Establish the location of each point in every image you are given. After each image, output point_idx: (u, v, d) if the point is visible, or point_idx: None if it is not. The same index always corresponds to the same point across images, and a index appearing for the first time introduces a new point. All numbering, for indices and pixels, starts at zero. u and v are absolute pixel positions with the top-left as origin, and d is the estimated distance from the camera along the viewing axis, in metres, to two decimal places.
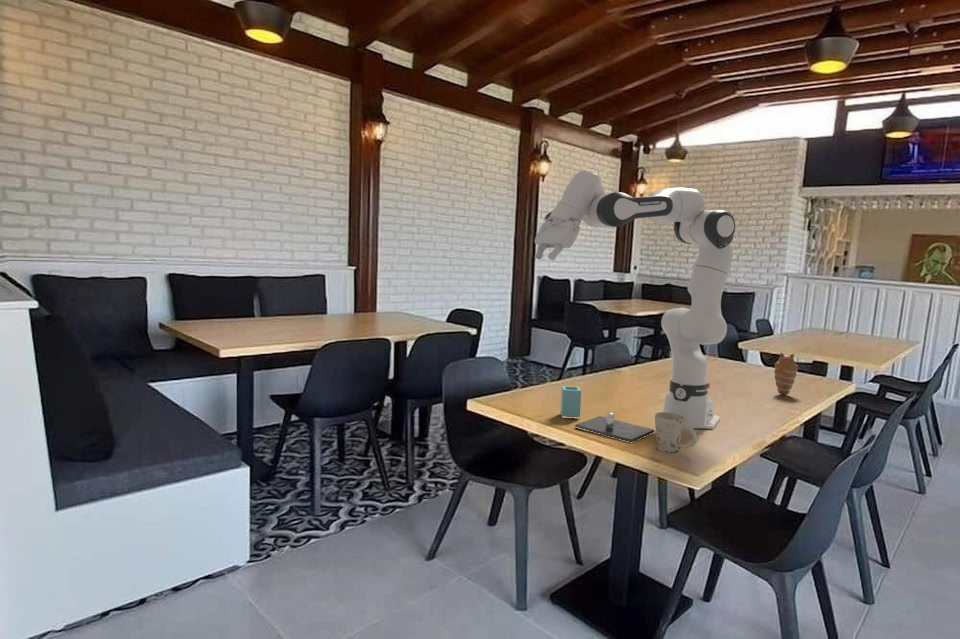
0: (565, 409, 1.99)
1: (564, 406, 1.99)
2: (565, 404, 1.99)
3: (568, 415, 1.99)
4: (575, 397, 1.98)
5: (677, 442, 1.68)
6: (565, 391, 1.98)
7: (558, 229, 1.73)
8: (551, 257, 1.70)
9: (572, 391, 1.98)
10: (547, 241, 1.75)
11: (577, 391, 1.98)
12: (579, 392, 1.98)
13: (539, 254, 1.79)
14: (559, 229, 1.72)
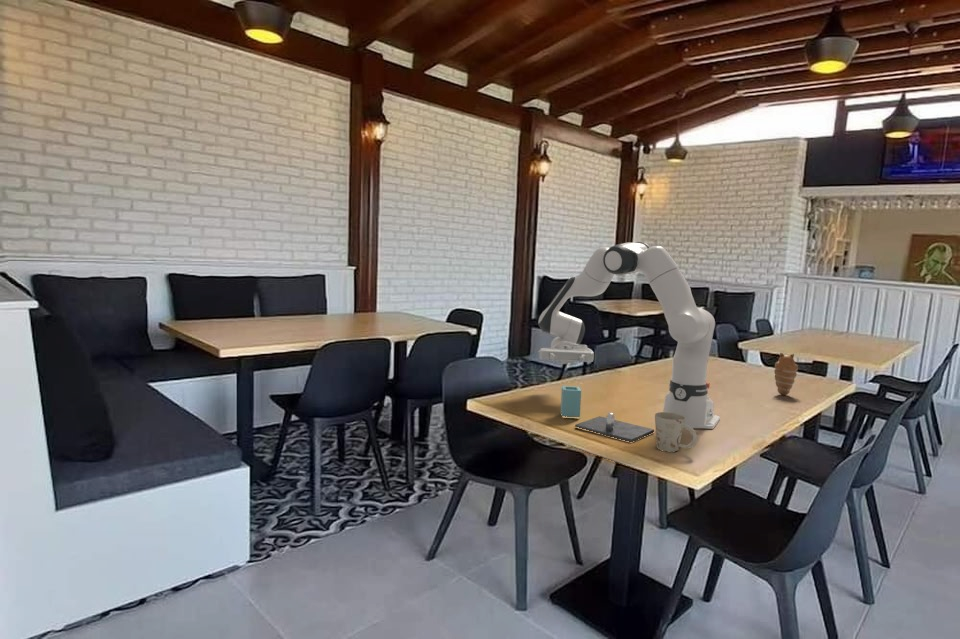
0: (565, 409, 1.99)
1: (564, 406, 1.99)
2: (565, 404, 1.99)
3: (568, 415, 1.99)
4: (575, 397, 1.98)
5: (677, 442, 1.68)
6: (565, 391, 1.98)
7: None
8: (553, 358, 2.13)
9: (572, 391, 1.98)
10: (566, 360, 2.17)
11: (577, 391, 1.98)
12: (579, 392, 1.98)
13: (579, 359, 2.13)
14: None
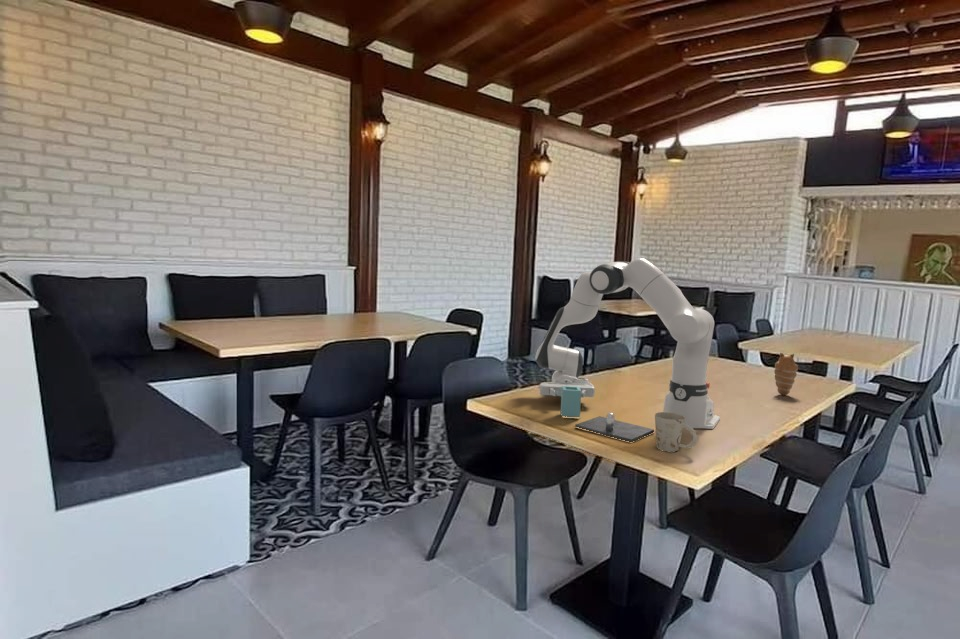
0: (565, 409, 1.99)
1: (564, 406, 1.99)
2: (565, 404, 1.99)
3: (568, 415, 1.99)
4: (575, 397, 1.98)
5: (677, 442, 1.68)
6: (565, 391, 1.98)
7: None
8: (553, 394, 2.10)
9: (572, 391, 1.98)
10: None
11: (577, 391, 1.98)
12: (579, 392, 1.98)
13: None
14: None
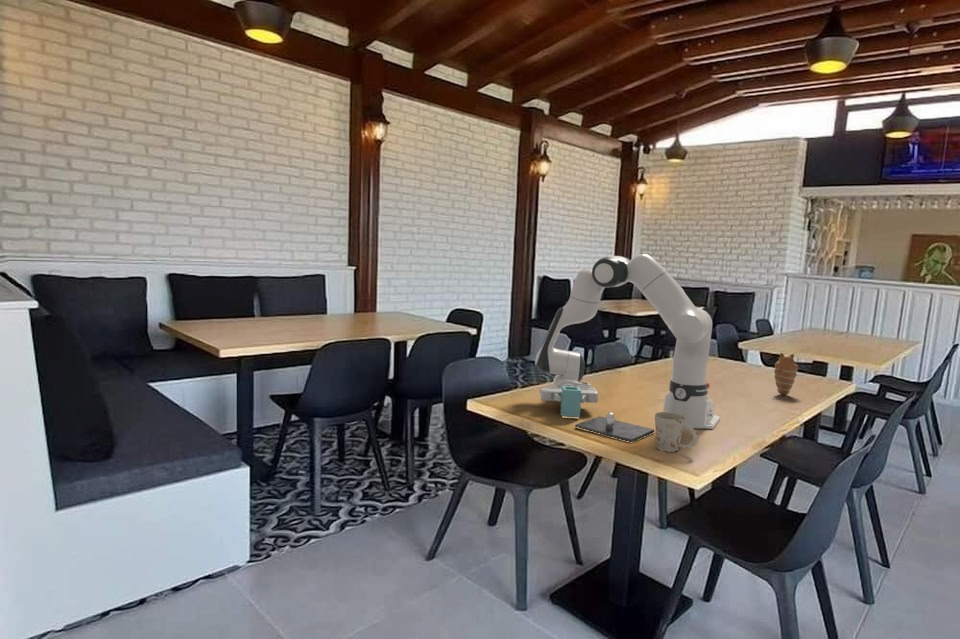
0: (565, 409, 1.99)
1: (564, 406, 1.99)
2: (565, 404, 1.99)
3: (568, 415, 1.99)
4: (575, 397, 1.98)
5: (677, 442, 1.68)
6: (565, 391, 1.98)
7: None
8: (558, 400, 2.01)
9: (572, 391, 1.98)
10: None
11: (577, 391, 1.98)
12: (579, 392, 1.98)
13: None
14: None
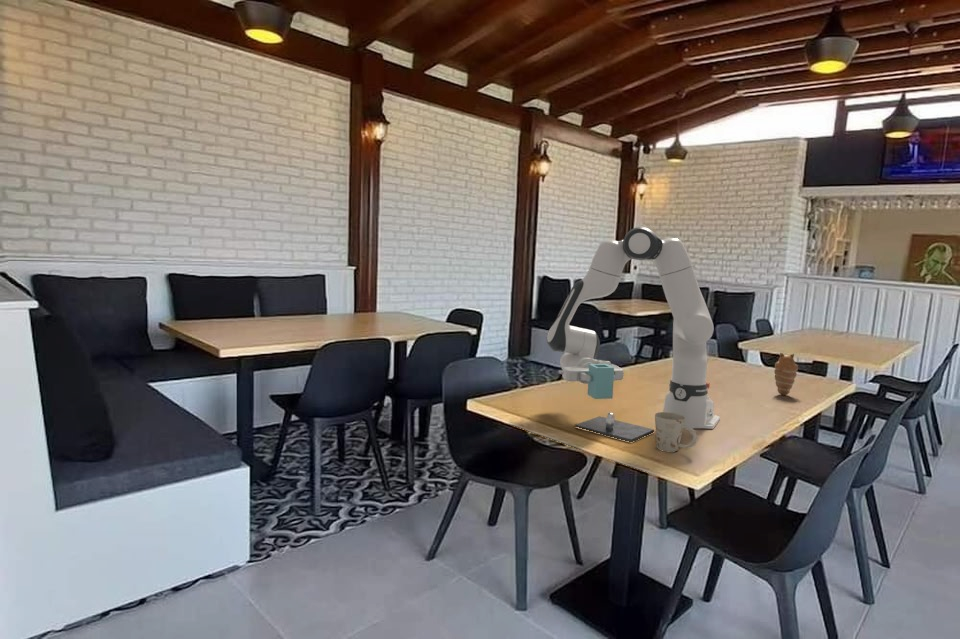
0: (597, 388, 1.84)
1: (597, 385, 1.84)
2: (598, 383, 1.84)
3: (601, 395, 1.84)
4: (608, 375, 1.84)
5: (677, 442, 1.68)
6: (598, 369, 1.83)
7: None
8: (588, 379, 1.86)
9: (605, 368, 1.84)
10: None
11: (610, 368, 1.84)
12: (612, 369, 1.84)
13: None
14: None
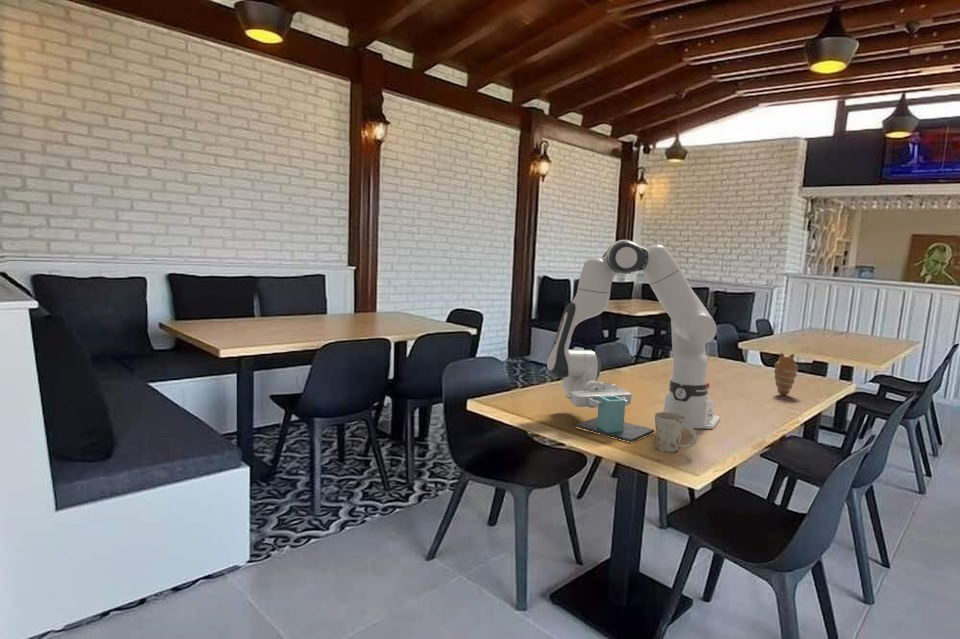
0: (609, 421, 1.81)
1: (609, 418, 1.81)
2: (610, 416, 1.81)
3: (612, 428, 1.82)
4: (619, 408, 1.82)
5: (677, 442, 1.68)
6: (610, 402, 1.80)
7: None
8: (596, 405, 1.82)
9: (617, 401, 1.81)
10: None
11: (621, 401, 1.82)
12: (623, 402, 1.82)
13: None
14: None
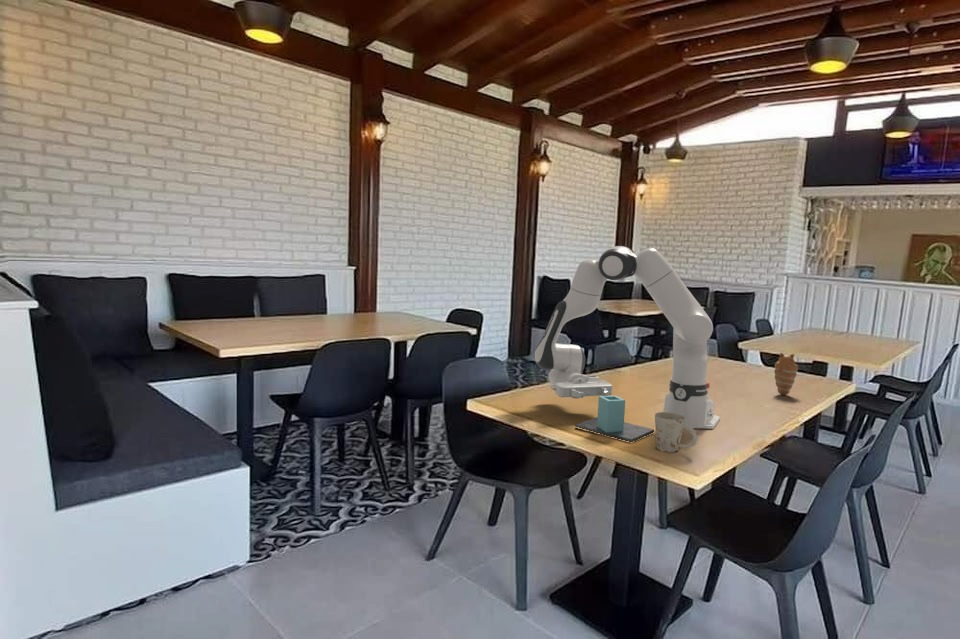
0: (609, 421, 1.81)
1: (609, 418, 1.81)
2: (610, 416, 1.81)
3: (612, 428, 1.82)
4: (619, 408, 1.82)
5: (677, 442, 1.68)
6: (610, 402, 1.80)
7: None
8: (578, 396, 1.93)
9: (617, 401, 1.81)
10: None
11: (621, 401, 1.82)
12: (623, 402, 1.82)
13: (603, 394, 1.97)
14: None
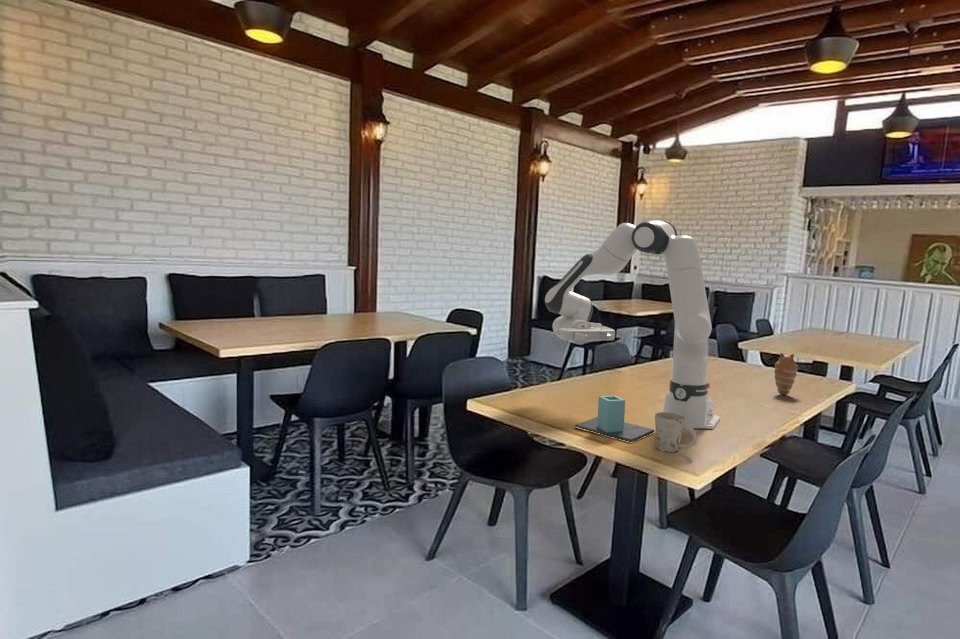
0: (609, 421, 1.81)
1: (609, 418, 1.81)
2: (610, 416, 1.81)
3: (612, 428, 1.82)
4: (619, 408, 1.82)
5: (677, 442, 1.68)
6: (610, 402, 1.80)
7: None
8: (582, 338, 1.98)
9: (617, 401, 1.81)
10: (589, 340, 2.04)
11: (621, 401, 1.82)
12: (623, 402, 1.82)
13: (605, 337, 2.02)
14: None
